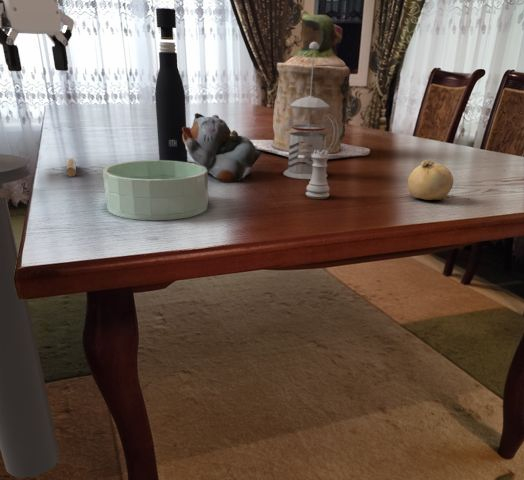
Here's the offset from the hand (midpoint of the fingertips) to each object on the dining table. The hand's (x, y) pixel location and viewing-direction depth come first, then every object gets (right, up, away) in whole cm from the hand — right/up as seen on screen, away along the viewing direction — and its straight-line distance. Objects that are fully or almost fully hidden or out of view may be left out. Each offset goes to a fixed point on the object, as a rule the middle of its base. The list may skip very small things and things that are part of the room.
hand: (39, 70), depth 96 cm
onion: (+72, -23, +1) cm, 75 cm away
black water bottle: (+21, -8, +25) cm, 33 cm away
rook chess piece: (+51, -23, +1) cm, 56 cm away
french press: (+51, -13, +18) cm, 56 cm away
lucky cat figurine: (+33, -15, +14) cm, 38 cm away
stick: (+1, -14, +13) cm, 19 cm away
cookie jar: (+53, +1, +44) cm, 69 cm away
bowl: (+24, -28, -9) cm, 37 cm away
